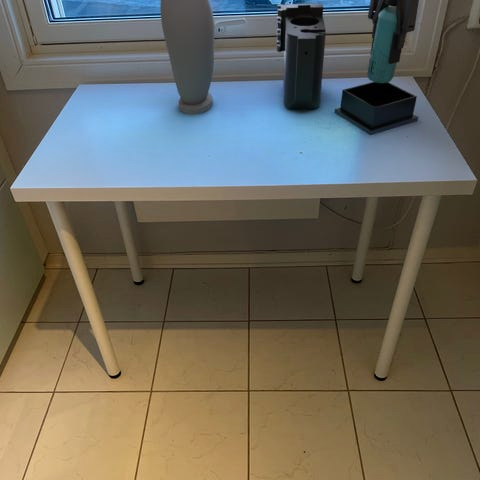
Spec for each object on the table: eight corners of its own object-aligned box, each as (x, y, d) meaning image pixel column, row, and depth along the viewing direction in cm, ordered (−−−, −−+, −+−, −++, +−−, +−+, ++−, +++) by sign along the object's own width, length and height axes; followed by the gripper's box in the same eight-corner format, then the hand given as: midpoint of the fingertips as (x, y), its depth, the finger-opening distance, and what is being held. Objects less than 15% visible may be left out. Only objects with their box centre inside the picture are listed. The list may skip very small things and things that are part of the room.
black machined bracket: (316, 83, 150) (323, -4, 135) (321, 114, 136) (328, 21, 120) (275, 84, 151) (277, -3, 135) (275, 115, 136) (277, 22, 121)
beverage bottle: (397, 85, 129) (419, -6, 114) (377, 92, 126) (397, 0, 111) (378, 75, 132) (397, -15, 117) (359, 81, 130) (376, -9, 114)
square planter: (417, 120, 132) (422, 97, 128) (370, 135, 127) (374, 110, 123) (379, 100, 141) (383, 77, 137) (334, 112, 137) (336, 89, 132)
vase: (215, 116, 137) (205, -44, 112) (166, 115, 138) (146, -43, 113) (221, 95, 146) (213, -56, 121) (175, 95, 147) (159, -55, 122)
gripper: (361, -65, 113) (347, 49, 129) (421, -50, 101) (398, 74, 117) (388, -69, 115) (372, 44, 131) (450, -55, 103) (424, 67, 120)
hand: (384, 58), depth 124 cm, fingers closed on beverage bottle, 6 cm apart
